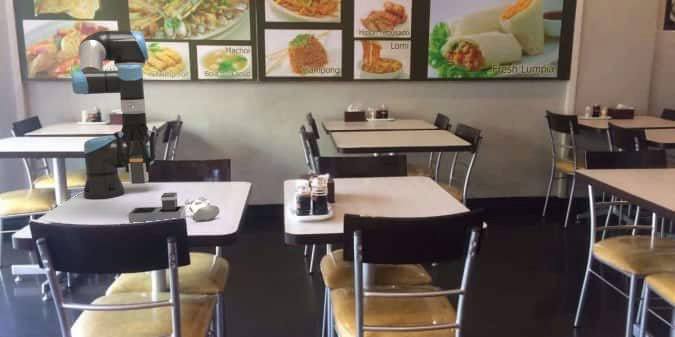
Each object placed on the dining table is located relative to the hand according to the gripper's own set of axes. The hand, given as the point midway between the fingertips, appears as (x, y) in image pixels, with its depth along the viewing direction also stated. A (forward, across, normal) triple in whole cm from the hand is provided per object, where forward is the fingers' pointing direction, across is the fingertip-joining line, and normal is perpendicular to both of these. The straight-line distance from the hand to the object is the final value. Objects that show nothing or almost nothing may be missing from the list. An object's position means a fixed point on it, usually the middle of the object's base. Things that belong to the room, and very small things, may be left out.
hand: (139, 181), depth 193 cm
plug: (0, 0, 0) cm, 0 cm away
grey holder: (+12, +8, -12) cm, 19 cm away
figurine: (+12, +21, -5) cm, 25 cm away
